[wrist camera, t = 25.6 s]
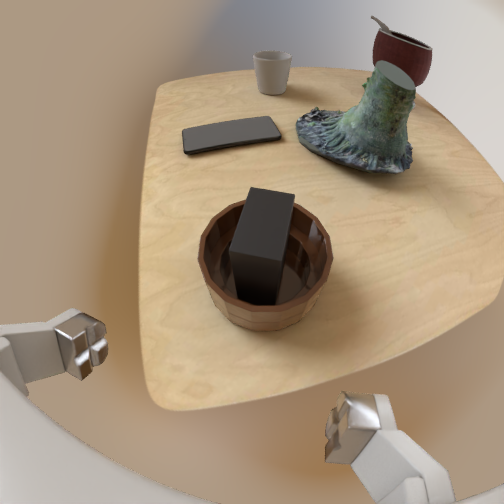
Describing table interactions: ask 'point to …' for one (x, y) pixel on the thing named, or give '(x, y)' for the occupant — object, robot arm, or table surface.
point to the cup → (272, 71)
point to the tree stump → (366, 125)
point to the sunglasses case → (261, 245)
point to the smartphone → (229, 134)
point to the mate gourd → (402, 53)
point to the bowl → (293, 276)
